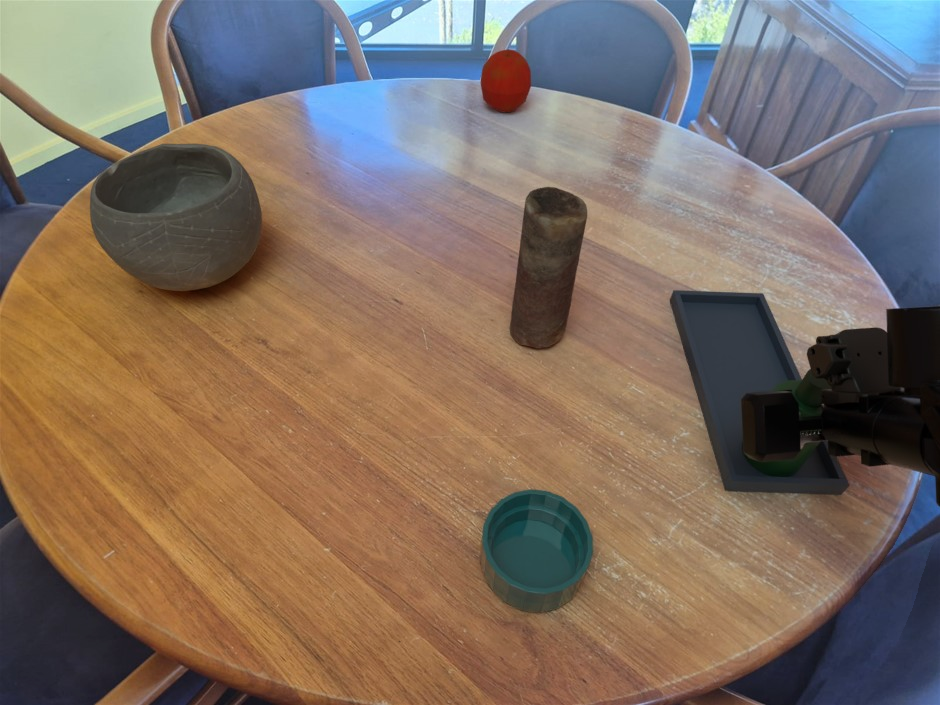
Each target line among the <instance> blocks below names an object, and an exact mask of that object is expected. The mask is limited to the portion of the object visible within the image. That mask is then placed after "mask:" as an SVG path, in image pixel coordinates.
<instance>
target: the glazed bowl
mask: <svg viewBox="0 0 940 705" xmlns="http://www.w3.org/2000/svg"><path fill="white" fill-rule="evenodd" d="M593 539H594V538H593V534H592V531H591V528H590V526H589V523H588V521H587V519H586V517H585V516H584V515H583V514H582V513H581V510H579V509H578V507H577V506H576V505H575V504H573V503H571V502H570V501H569V500H567V498H565V497H563V496H561V495H558V494H557V493H553V492H551V491H548V490H543V489H532V488H531V489H523V490H519V491H515V492H512V493H511V494H509V495H506V496H505V497H503V498H501V499H499V501H498V502H497V503H496V504H494V506H493V507H492V508H491V509H490V510H489V512H488V514H487V516H486V518H485V520H484V522H483V525H482V535H481V548H480V557H479V558H480V559H479V563H480V568H481V570H482V575H483V577H484V580H485V581H486V583H487V584H488V586H489V588H490V590H491V592H493V593H494V594H495V596H497V597H498V598H499V599H501V600H502V601H503V602H504V603H505V604H507V605H509V606H511V607H513V608H515V609H518V610H520V611H522V612H523V611H524V612H529V613H530V612H532V613H545V612H550V611H553V610H557V609H560V608H561V607H562V606H564V605H565V604H567V603H569V602H571V600H572V599H573V598H574V597H575V595H576V594H577V593H578V592H579V590H580V589H581V587H582V586H583V583H584V580H585V578H586V575H587V572H588V570H589V567H590V564H591V560H592V558H593V554H594V540H593Z"/></svg>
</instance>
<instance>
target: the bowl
mask: <svg viewBox="0 0 940 705" xmlns="http://www.w3.org/2000/svg"><path fill="white" fill-rule="evenodd" d="M89 197H90V198H89V217H90V224H91V228H92V232H93V235H94V237H95V239H96V241H97V243H98V244H99V246H100V247H101V249H102V250H103V251H104V252H105V254H106V255H107V256H108V257H109V258H110V259H111V260H112V261H113V262H114V263H115V265H117V266H118V267H119V268H121V269H122V270H124V272H126V273H127V274H128V275H130V276H131V277H132V278H135V279H136V280H138V281H140V282H142V283H143V284H145V285H148V286H150V287H153V288H155V289H161V290H164V291H165V290H166V291H173V292H187V291H188V292H189V291H195V290H200V289H201V290H202V289H207V288H210V287H213V286H216V285H218V284H220V283H223V282H225V281H227V280H228V279H230V278H231V277H233V276H234V275H236V274H237V273H238V272H240V271H241V270H242V269H243V268H244V267H245V265H247V264H248V263H249V261H251V259H252V257H253V256H254V255H255V253H256V250H257V249H258V247H259V242H260V239H261V236H262V227H263V224H262V223H263V216H262V208H261V202H260V199H259V196H258V192H257V190H256V186H255V183H254V181H253V179H252V177H251V176H250V174H249V173H248V171H247V169H246V168H245V167H244V166H243V164H242V163H241V162H240V161H239V160H238V159H237V158H236V157H235V156H234V155H232V154H231V153H230V152H228V151H226V150H225V149H223V148H220V147H218V146H215V145H209V144H205V143H161V144H158V145H155V146H153V147H150V148H146V149H143V150H141V151H138V152H136V153H134V154H131V155H129V156H126V157H123V158H122V159H120V160H118V161H116V162H114V163H113V164H111V165H110V166H109V167H107V168H105V169H104V170H102V172H101V173H100V174H99V175H98V176H97V177H96V178H95V180H94V181H93V183H92V185H91V188H90V195H89Z"/></svg>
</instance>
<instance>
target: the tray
mask: <svg viewBox="0 0 940 705" xmlns="http://www.w3.org/2000/svg"><path fill="white" fill-rule="evenodd" d="M669 303H670V307H671V309H672V314H673V317H674V319H675V323H676V327H677V330H678V331H677V332H678V334H679V338H680V341H681V344H682V347H683V351H684V355H685V357H686V361H687V366H688V368H689V371H690V375H691V378H692V383H693V385H694V388H695V392H696V396H697V399H698V403H699V405H700V406H699V407H700V408H701V409H700V410H701V413H702V416H703V419H704V423H705V426H706V429H707V433H708V436H709V440H710V443H711V447H712V450H713V455H714V458H715V462H716V464H717V467H718V471H719V475H720V477H721V481H722V485H723V488H724V491H725V492H743V493H748V492H750V493H770V494H771V493H773V494H805V495H832V496H833V495H834V496H842V495H843V493H845V492H846V491H847V489H848V488H849V487H850V486H851V485H850V483H849V480H848V479H847V477H846V474H845V472H844V470H843V467H842V465H841V463H840V460H839V458H838V457H835V456H832V455H828V441H821V442H820V443H819V444H818V446H817V447H816V448H815V449H814V451H813V452H812V453H811V455H810V456H809V457H808V459H807V460H806V461H805V463H804V464H803V465H802V466H801V468H800V469H799V470H798V472H797V473H795V474H794V475H792V476H790V477H772V476H768V475H766V474H764V473H761V472H760V471H758V470H757V469H755V468H754V467H753V466H752V465H751V464H750V463H749V462H748V461H747V459H746V458H745V456H744V454H743V451H742V441H743V430H742V409H741V399H742V397H743V396H744V395H745V394H746V393H751V392H763V391H773V389H774V388H775V386H776V385H778V384H779V383H781V382H784V381H789V380H796V381H798V380H802V379H803V378H802V377H801V374H800V371H799V369H798V368H797V366H796V363H795V361H794V359H793V356H792V354H791V352H790V350H789V347H788V345H787V343H786V340H785V338H784V336H783V334H782V332H781V330H780V327H779V325H778V323H777V321H776V318H775V316H774V314H773V312H772V309H771V308H770V305H769V303H768V300H767V299H766V297H765V294H764V292H735V291H711V290H710V291H709V290H708V291H707V290H706V291H705V290H679V289H678V290H677V289H673V290H672V293H671V296H670V298H669Z"/></svg>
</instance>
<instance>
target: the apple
mask: <svg viewBox="0 0 940 705" xmlns="http://www.w3.org/2000/svg"><path fill="white" fill-rule="evenodd" d="M481 68H482V69H481V75H480V88H481V94H482V99H483V101H484V102H485V103H486V104H487V105H489V106H490V107H491V108H492V109H494V110H496V111H498V112H500V113H511V112H514V111H516V110H517V109H518V108H520V107H521V106H522V105H523V104H524V103H525V102H526V101H527V99H528V97H529V93H530V90H531V87H532V72H531V67H530V65H529V63H528V61H527V59H526V58H525V57H524V55H522V54H521V53H519V52H518V51H516V50H514V49H509V48H507V49H503V50H499V51H496V52H495V53H493V54H491V56H490V57H489V58H488V59H487V60H486V62H485V63H484V65H483V66H482V67H481Z"/></svg>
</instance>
